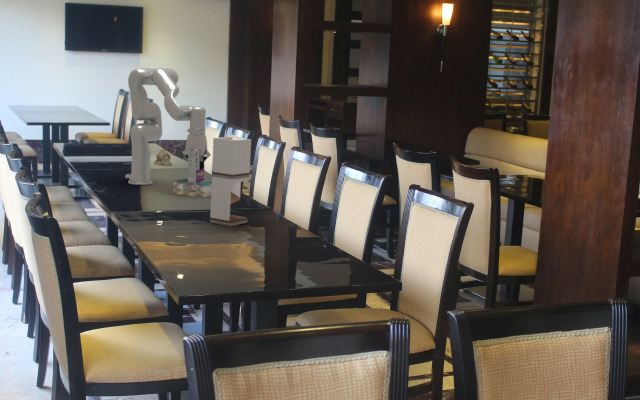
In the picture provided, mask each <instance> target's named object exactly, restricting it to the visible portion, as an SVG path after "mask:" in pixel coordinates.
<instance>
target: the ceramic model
mask: <svg viewBox="0 0 640 400" xmlns="http://www.w3.org/2000/svg"><path fill="white" fill-rule="evenodd" d="M155 158H156V160H154V163H153V164H154V165H156V166H161V167H169V166H173V163H172V161H171V158H172V157H171V155H170V154H169V152H168V151H167V150H166V149H165V148H163V149H160V150H159V152H158V153H157V154H156V155H155Z"/></svg>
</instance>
